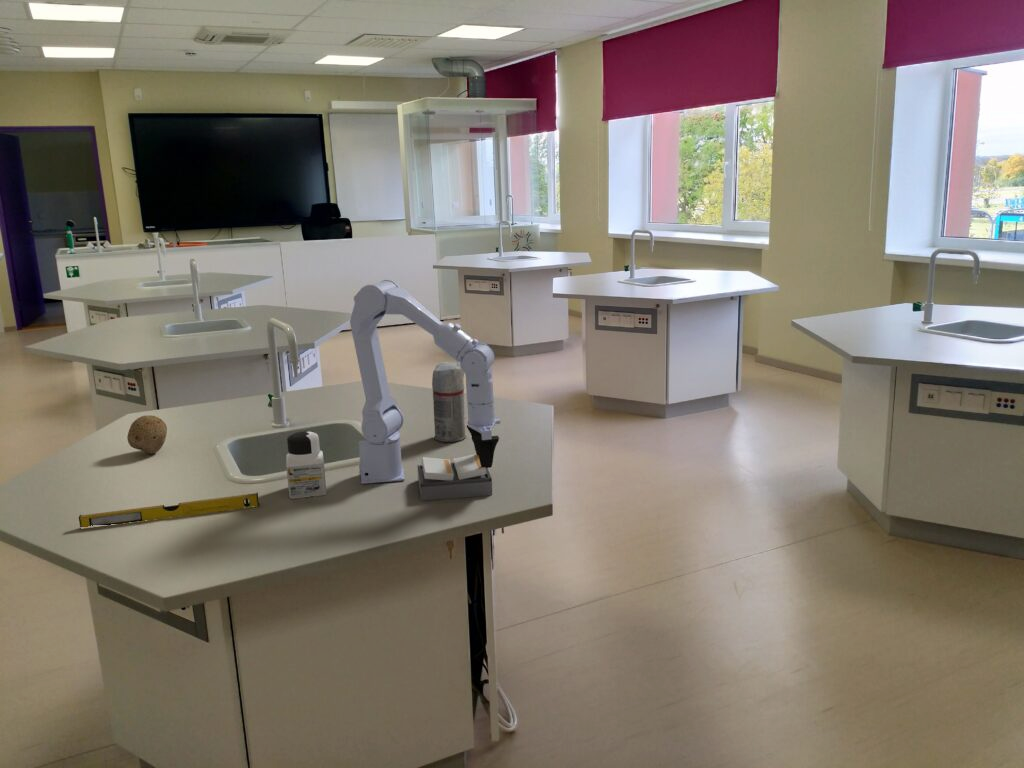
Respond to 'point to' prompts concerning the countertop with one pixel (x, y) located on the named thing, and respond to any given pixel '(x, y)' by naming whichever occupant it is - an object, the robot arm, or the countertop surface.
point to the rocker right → (468, 466)
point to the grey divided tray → (454, 486)
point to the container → (305, 466)
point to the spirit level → (169, 510)
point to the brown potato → (147, 434)
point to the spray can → (448, 402)
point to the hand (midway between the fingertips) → (484, 461)
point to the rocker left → (437, 469)
